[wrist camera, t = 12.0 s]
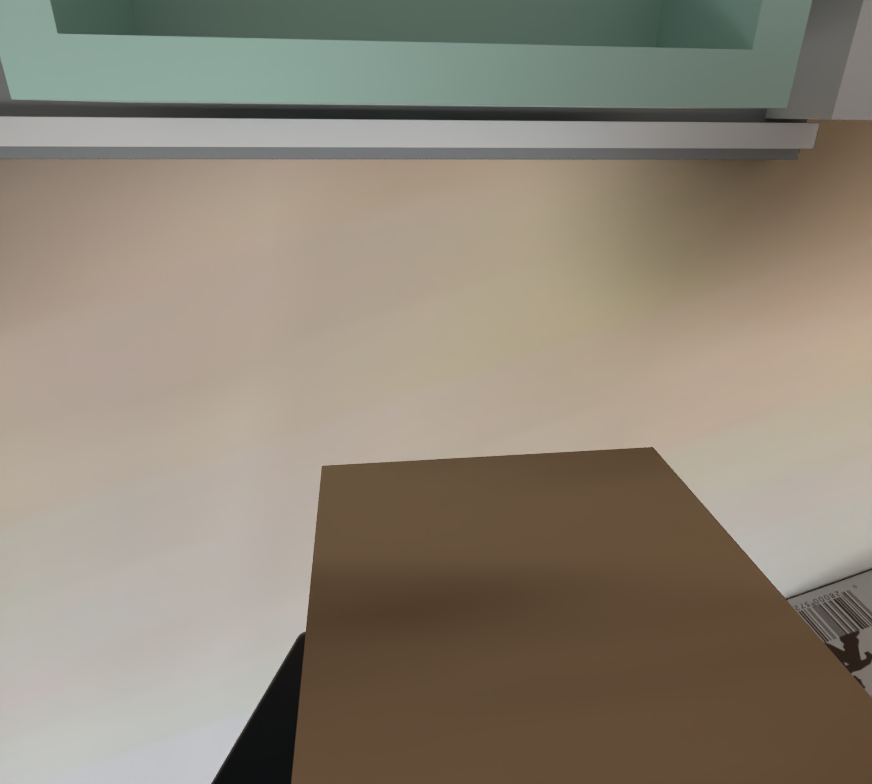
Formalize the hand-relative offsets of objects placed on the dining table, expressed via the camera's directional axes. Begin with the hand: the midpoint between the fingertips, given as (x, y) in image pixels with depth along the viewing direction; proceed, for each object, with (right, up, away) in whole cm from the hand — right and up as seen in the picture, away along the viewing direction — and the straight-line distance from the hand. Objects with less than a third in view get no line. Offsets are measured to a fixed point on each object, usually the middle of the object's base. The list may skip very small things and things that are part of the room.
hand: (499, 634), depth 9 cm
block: (0, 0, +1) cm, 1 cm away
